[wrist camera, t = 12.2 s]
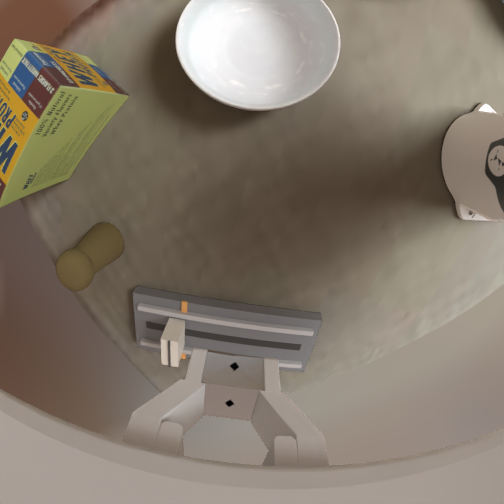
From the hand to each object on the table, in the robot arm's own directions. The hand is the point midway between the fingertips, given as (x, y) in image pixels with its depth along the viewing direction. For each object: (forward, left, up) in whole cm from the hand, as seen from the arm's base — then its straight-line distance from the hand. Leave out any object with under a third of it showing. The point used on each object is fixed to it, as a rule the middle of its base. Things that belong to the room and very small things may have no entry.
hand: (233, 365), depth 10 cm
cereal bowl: (+2, -18, -29) cm, 34 cm away
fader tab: (+8, +22, -27) cm, 36 cm away
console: (+1, +22, -29) cm, 36 cm away
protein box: (+26, -8, -29) cm, 40 cm away
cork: (+20, +10, -29) cm, 37 cm away
